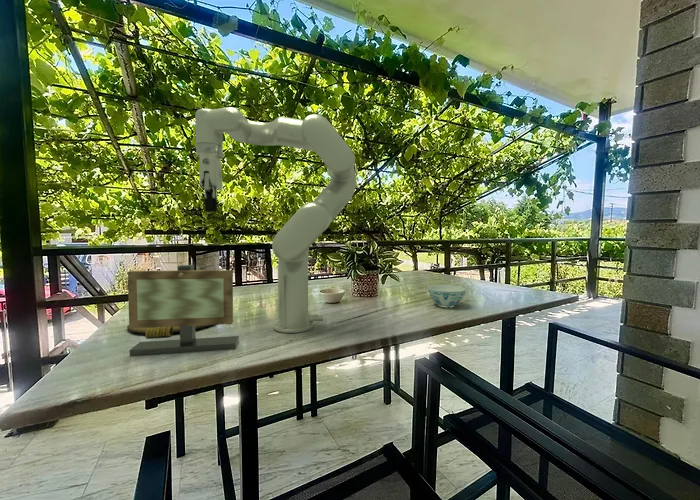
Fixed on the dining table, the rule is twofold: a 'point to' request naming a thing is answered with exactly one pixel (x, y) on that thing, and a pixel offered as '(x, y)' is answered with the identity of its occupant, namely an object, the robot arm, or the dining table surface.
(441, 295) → the chinaware
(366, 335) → the dining table surface
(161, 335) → the decorative disc
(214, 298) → the picture frame
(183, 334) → the frame post
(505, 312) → the dining table surface
